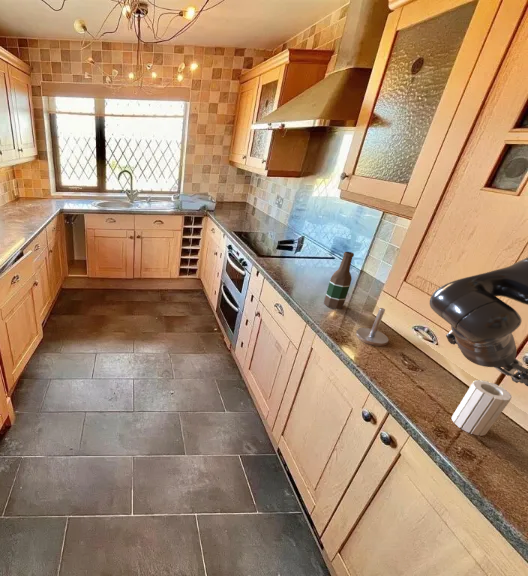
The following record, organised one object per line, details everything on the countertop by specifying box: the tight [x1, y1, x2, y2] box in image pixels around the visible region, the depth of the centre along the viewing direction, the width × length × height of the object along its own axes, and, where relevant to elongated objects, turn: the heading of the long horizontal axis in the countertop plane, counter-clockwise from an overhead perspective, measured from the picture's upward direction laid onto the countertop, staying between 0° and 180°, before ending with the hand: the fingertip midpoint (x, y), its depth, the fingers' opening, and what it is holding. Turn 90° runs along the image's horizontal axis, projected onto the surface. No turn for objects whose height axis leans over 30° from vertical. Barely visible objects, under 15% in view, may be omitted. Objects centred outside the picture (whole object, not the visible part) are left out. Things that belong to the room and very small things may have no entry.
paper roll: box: [450, 379, 512, 437], centre depth 75 cm, size 6×6×12 cm
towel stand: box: [355, 307, 389, 347], centre depth 109 cm, size 10×10×12 cm
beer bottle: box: [323, 251, 355, 310], centre depth 127 cm, size 8×8×24 cm
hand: (493, 364), depth 68 cm, fingers open, 8 cm apart
